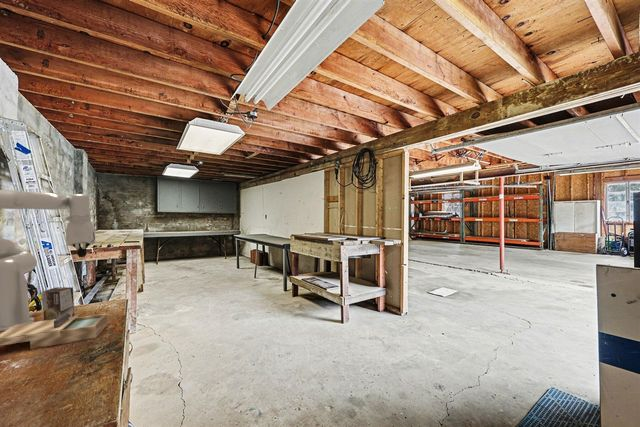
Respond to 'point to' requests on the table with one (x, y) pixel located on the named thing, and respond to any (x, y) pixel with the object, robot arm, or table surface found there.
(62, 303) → the coffee box
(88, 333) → the base
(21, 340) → the light brown flat piece
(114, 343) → the table surface
